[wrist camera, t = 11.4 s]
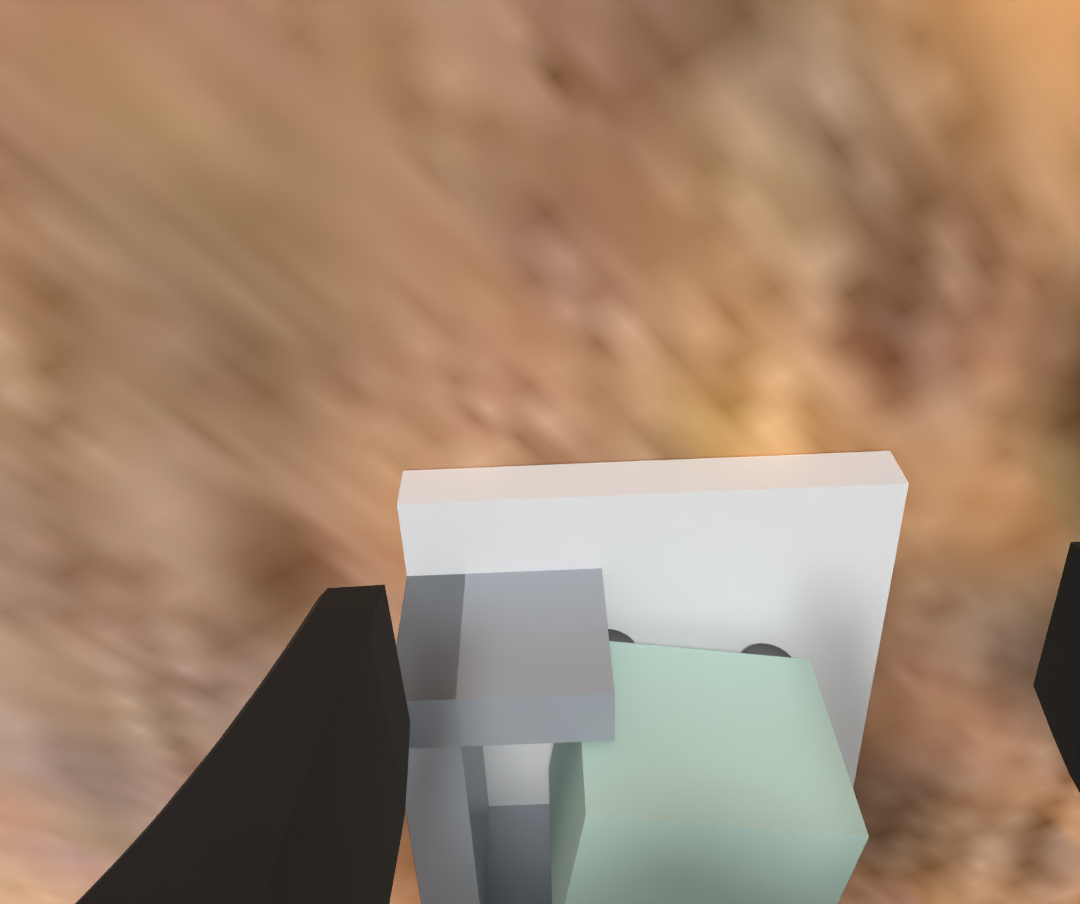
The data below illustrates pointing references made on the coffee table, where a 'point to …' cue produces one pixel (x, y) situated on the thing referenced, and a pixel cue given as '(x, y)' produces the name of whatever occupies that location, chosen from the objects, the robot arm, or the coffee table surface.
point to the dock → (611, 621)
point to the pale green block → (705, 786)
